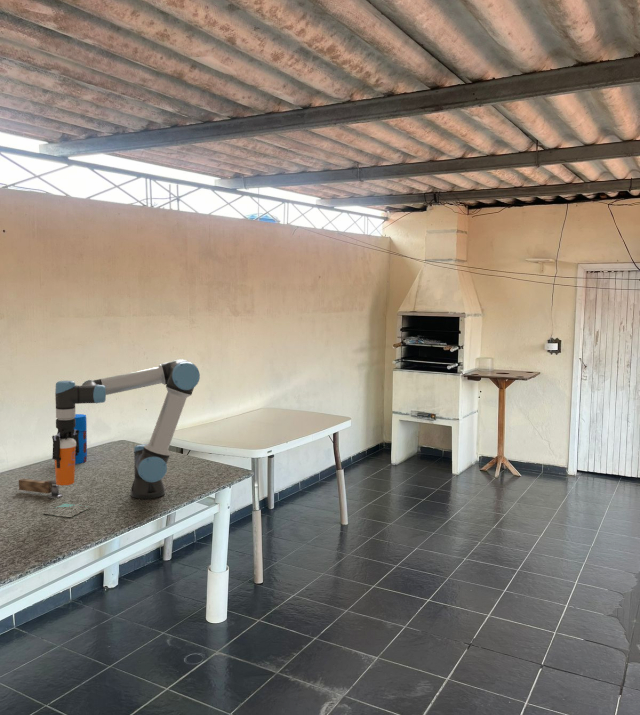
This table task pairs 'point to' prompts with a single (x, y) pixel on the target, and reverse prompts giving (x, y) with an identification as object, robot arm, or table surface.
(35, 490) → the bar
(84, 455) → the thermos
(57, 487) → the grey curved piece
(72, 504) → the mat
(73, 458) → the shaker bottle
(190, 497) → the table surface
